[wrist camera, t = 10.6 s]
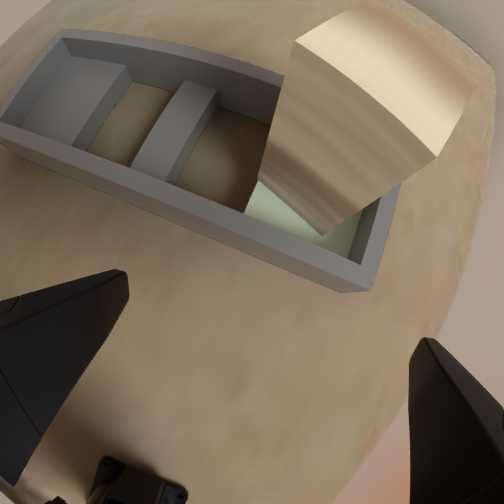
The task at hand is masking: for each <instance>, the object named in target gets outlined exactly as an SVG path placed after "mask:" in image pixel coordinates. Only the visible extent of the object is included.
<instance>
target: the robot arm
mask: <svg viewBox="0 0 504 504" xmlns="http://www.w3.org/2000/svg"><path fill="white" fill-rule="evenodd" d="M128 300H129V286H128V276H127V273H126V272H124V271H121V270H117V269H112V270H109V271H105V272H101V273H98V274H94V275H91V276H87V277H83V278H80V279H76V280H73V281H69V282H66V283H62V284H58V285H55V286H51V287H48V288H44V289H41V290H37V291H34V292H30V293H27V294H24V295H21V296H16V297H13V298H10V299H6V300H2V301H0V476H2V477H3V478H4V479H5V480H6V481H7V482H8V483H10V484H11V485H12V486H14V485H15V484H16V482H17V481H18V479H19V477H20V475H21V473H22V472H23V470H24V468H25V466H26V464H27V463H28V461H29V459H30V457H31V456H32V454H33V452H34V450H35V449H36V447H37V445H38V444H39V442H40V440H41V439H42V436H43V435H44V433H45V432H46V430H47V428H48V427H49V425H50V424H51V422H52V420H53V419H54V417H55V415H56V414H57V412H58V411H59V409H60V408H61V406H62V404H63V403H64V401H65V400H66V398H67V397H68V395H69V394H70V392H71V390H72V389H73V387H74V386H75V384H76V383H77V381H78V380H79V378H80V377H81V375H82V374H83V372H84V371H85V369H86V368H87V366H88V365H89V363H90V362H91V361H92V359H93V358H94V356H95V355H96V353H97V352H98V350H99V349H100V348H101V346H102V345H103V343H104V342H105V340H106V339H107V337H108V336H109V334H110V332H111V330H112V329H113V327H114V325H115V323H116V321H117V320H118V318H119V316H120V314H121V313H122V311H123V309H124V307H125V306H126V304H127V302H128ZM408 412H409V430H410V504H504V410H503V407H502V406H501V405H500V404H499V403H498V402H497V400H495V398H493V396H492V395H491V394H490V393H489V392H488V391H487V390H486V389H485V388H484V387H483V386H482V385H481V384H480V383H479V382H478V381H477V380H476V379H475V378H474V377H473V376H472V375H471V374H470V373H469V372H468V371H467V370H466V369H465V368H464V367H463V366H462V365H461V364H460V363H459V362H458V361H457V360H456V359H455V358H454V357H453V356H452V355H451V354H450V353H449V352H448V351H447V350H446V349H445V348H444V347H443V346H442V345H441V344H440V343H439V342H438V341H437V340H435V339H433V338H426V337H424V338H422V339H421V340H420V341H419V343H418V345H417V347H416V349H415V351H414V353H413V354H412V356H411V359H410V362H409V398H408ZM105 461H107V462H108V463H109V464H107V463H106V462H105ZM179 493H180V494H183V496H181V495H179ZM187 499H188V491H187V490H185V489H183V488H180V487H178V486H175V485H172V484H170V483H167V482H164V481H162V480H160V479H158V478H156V477H153V476H151V475H148V474H146V473H144V472H141V471H139V470H137V469H135V468H133V467H130V466H127V465H125V464H123V463H121V462H119V461H117V460H115V459H113V458H111V457H109V456H103V457H102V458H101V460H100V462H99V465H98V469H97V472H96V476H95V479H94V483H93V487H92V490H91V494H90V498H89V500H88V501H87V503H86V504H185V503H186V501H187ZM65 502H66V501H65V500H63V499H62V498H60V497H59V496H57V497H56V498H55V499H53V500H52V501H50V500H49V501H48V502H46V503H45V504H67V503H65Z"/></svg>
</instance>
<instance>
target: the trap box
mask: <svg viewBox="0 0 504 504" xmlns="http://www.w3.org/2000/svg"><path fill="white" fill-rule="evenodd" d="M284 77H285V76H283V75H281V74H278V73H275V72H272V71H270V70H267V69H264V68H261V67H258V66H255V65H252V64H249V63H246V62H243V61H240V60H236V59H233V58H230V57H226V56H223V55H219V54H216V53H212V52H208V51H205V50H201V49H197V48H193V47H188V46H184V45H180V44H175V43H170V42H166V41H161V40H155V39H150V38H144V37H138V36H132V35H125V34H118V33H110V32H101V31H90V30H77V29H61V30H60V31H59V32H58V33H57V34H56V35H55V36H54V37H53V39H52V40H51V41H50V42H49V43H48V44H47V45H46V46H45V48H44V49H43V50H42V51H41V52H40V54H39V55H38V56H37V57H36V58H35V60H34V61H33V62H32V63H31V65H30V66H29V67H28V68H27V70H26V71H25V72H24V74H23V75H22V76H21V78H20V79H19V80H18V82H17V83H16V84H15V86H14V87H13V89H12V90H11V91H10V93H9V94H8V96H7V97H6V99H5V100H4V102H3V103H2V105H1V106H0V143H1V144H2V145H4V146H5V147H6V148H7V149H9V150H10V151H11V152H13V153H14V154H15V155H17V156H20V157H22V158H24V159H27V160H29V161H31V162H34V163H36V164H38V165H41V166H43V167H45V168H48V169H50V170H52V171H55V172H57V173H59V174H61V175H64V176H66V177H68V178H71V179H73V180H75V181H78V182H80V183H82V184H85V185H87V186H89V187H92V188H94V189H96V190H99V191H101V192H103V193H106V194H108V195H110V196H113V197H115V198H117V199H120V200H122V201H124V202H127V203H129V204H131V205H134V206H136V207H138V208H141V209H143V210H145V211H148V212H150V213H153V214H155V215H157V216H160V217H162V218H164V219H167V220H169V221H171V222H174V223H176V224H178V225H181V226H183V227H185V228H188V229H190V230H192V231H195V232H197V233H199V234H202V235H204V236H207V237H209V238H211V239H214V240H216V241H218V242H221V243H223V244H225V245H228V246H230V247H232V248H235V249H237V250H240V251H242V252H244V253H247V254H249V255H251V256H254V257H256V258H258V259H261V260H263V261H266V262H268V263H270V264H273V265H275V266H277V267H280V268H282V269H284V270H287V271H289V272H292V273H294V274H296V275H299V276H301V277H303V278H306V279H308V280H311V281H313V282H315V283H318V284H320V285H322V286H325V287H327V288H330V289H332V290H334V291H337V292H339V293H348V292H361V291H371V289H372V286H373V283H374V280H375V276H376V273H377V270H378V267H379V264H380V261H381V257H382V254H383V251H384V247H385V244H386V240H387V237H388V233H389V229H390V226H391V222H392V218H393V214H394V210H395V207H396V202H397V198H398V194H399V190H400V186H401V183H400V184H398V185H397V186H395V187H394V188H392V189H391V190H389V191H388V192H387V193H385V194H384V195H382V196H381V197H379V198H378V199H376V200H375V201H373V202H372V203H370V204H369V205H368V206H366V207H365V208H363V209H362V210H360V211H359V212H357V213H356V214H354V215H353V216H351V217H350V218H348V219H347V220H345V221H344V222H342V223H341V224H339V225H338V226H336V227H335V228H333V229H332V230H330V231H329V232H327V233H326V234H324V235H323V236H321V235H320V234H319V233H318V232H317V231H316V230H314V229H313V228H312V227H311V226H310V225H309V224H308V223H307V222H306V221H304V220H303V219H302V218H301V217H300V216H299V215H298V214H297V213H296V212H294V211H293V210H292V209H291V208H290V207H289V206H288V205H286V204H285V203H284V202H283V201H282V200H281V199H280V198H278V197H277V196H276V195H275V194H274V193H273V192H272V191H270V190H269V189H268V188H267V187H266V186H265V185H263V184H262V183H261V182H260V181H259V180H258V182H257V184H256V186H255V189H254V191H253V193H252V195H251V198H250V200H249V202H248V204H247V207H246V209H245V211H244V213H240V212H238V211H236V210H233V209H231V208H228V207H226V206H224V205H221V204H219V203H216V202H214V201H211V200H209V199H207V198H204V197H202V196H199V195H197V194H194V193H192V192H189V191H187V190H184V189H182V188H179V187H177V186H174V184H175V182H176V180H177V178H178V176H179V174H180V172H181V170H182V168H183V167H184V165H185V163H186V161H187V159H188V157H189V155H190V153H191V152H192V150H193V148H194V146H195V144H196V143H197V141H198V139H199V137H200V135H201V134H202V132H203V130H204V128H205V127H206V125H207V123H208V121H209V120H210V118H211V116H212V115H213V113H214V111H215V110H216V108H217V106H219V107H222V108H225V109H228V110H231V111H234V112H237V113H239V114H242V115H245V116H247V117H250V118H253V119H255V120H258V121H261V122H263V123H266V124H268V125H271V124H272V121H273V117H274V113H275V110H276V106H277V102H278V99H279V95H280V91H281V88H282V84H283V81H284ZM132 81H134V82H138V83H142V84H146V85H150V86H154V87H157V88H161V89H165V90H168V91H172V92H175V94H174V96H173V97H172V99H171V100H170V102H169V103H168V105H167V106H166V108H165V109H164V111H163V112H162V114H161V115H160V117H159V119H158V120H157V122H156V123H155V125H154V127H153V128H152V130H151V131H150V133H149V135H148V136H147V138H146V140H145V141H144V143H143V145H142V147H141V148H140V150H139V152H138V154H137V155H136V157H135V159H134V161H133V162H132V164H131V166H130V168H128V167H126V166H123V165H120V164H118V163H115V162H112V161H110V160H107V159H105V158H102V157H99V156H96V155H94V154H91V153H88V152H86V151H87V149H88V147H89V145H90V144H91V142H92V140H93V139H94V137H95V135H96V134H97V132H98V131H99V129H100V127H101V126H102V124H103V123H104V121H105V120H106V118H107V117H108V115H109V114H110V112H111V111H112V109H113V108H114V106H115V105H116V103H117V102H118V100H119V99H120V97H121V96H122V95H123V93H124V92H125V90H126V89H127V88H128V86H129V85H130V84H131V82H132Z"/></svg>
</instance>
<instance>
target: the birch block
mask: <svg viewBox="0 0 504 504" xmlns="http://www.w3.org/2000/svg"><path fill="white" fill-rule="evenodd" d="M476 85H477V82H476V81H475V80H474V79H473V78H472V77H471V76H470V75H469V74H468V73H467V72H466V71H465V70H464V69H463V68H462V67H461V66H460V65H459V64H458V63H457V62H456V61H455V60H454V59H453V58H452V57H451V56H450V55H448V54H447V53H446V52H445V51H444V50H443V49H442V48H440V47H439V46H438V45H437V44H436V43H435V42H433V41H432V40H431V39H430V38H429V37H427V36H426V35H425V34H424V33H422V32H421V31H420V30H419V29H417V28H416V27H415V26H413V25H412V24H411V23H409V22H408V21H407V20H405V19H404V18H403V17H401V16H400V15H398V14H397V13H396V12H394V11H393V10H391V9H390V8H388V7H387V6H385V5H384V4H382V3H381V2H379V1H378V0H366V1H364V2H362V3H360V4H358V5H356V6H354V7H352V8H350V9H348V10H346V11H344V12H343V13H341V14H339V15H337V16H335V17H334V18H332V19H330V20H328V21H326V22H325V23H323V24H321V25H320V26H318V27H316V28H314V29H313V30H311V31H309V32H308V33H306V34H305V35H303V36H301V37H300V38H298V39H297V40H295V41H294V45H293V48H292V52H291V55H290V59H289V63H288V66H287V70H286V73H285V77H284V81H283V84H282V88H281V91H280V95H279V99H278V102H277V106H276V110H275V113H274V117H273V121H272V124H271V128H270V132H269V135H268V139H267V143H266V146H265V150H264V154H263V158H262V161H261V165H260V169H259V173H258V176H257V179H258V180H259V181H260V182H261V183H262V184H263V185H265V186H266V187H267V188H268V189H269V190H270V191H272V192H273V193H274V194H275V195H276V196H277V197H278V198H280V199H281V200H282V201H283V202H284V203H285V204H286V205H288V206H289V207H290V208H291V209H292V210H293V211H294V212H296V213H297V214H298V215H299V216H300V217H301V218H302V219H303V220H304V221H306V222H307V223H308V224H309V225H310V226H311V227H312V228H313V229H314V230H316V231H317V232H318V233H319V234H320V235H321V236H323V235H324V234H326V233H327V232H329V231H330V230H332V229H333V228H335V227H336V226H338V225H339V224H341V223H342V222H344V221H345V220H347V219H348V218H350V217H351V216H353V215H354V214H356V213H357V212H359V211H360V210H362V209H363V208H365V207H366V206H368V205H369V204H370V203H372V202H373V201H375V200H376V199H378V198H379V197H381V196H382V195H384V194H385V193H387V192H388V191H389V190H391V189H392V188H394V187H395V186H397V185H398V184H400V183H401V182H402V181H404V180H405V179H407V178H408V177H410V176H411V175H413V174H414V173H415V172H417V171H418V170H420V169H421V168H423V167H424V166H425V165H427V164H428V163H430V162H431V161H432V160H434V159H435V158H437V156H438V155H439V153H440V151H441V150H442V148H443V146H444V145H445V143H446V141H447V139H448V138H449V136H450V134H451V132H452V131H453V129H454V127H455V125H456V123H457V121H458V120H459V118H460V116H461V114H462V112H463V110H464V108H465V107H466V105H467V103H468V101H469V99H470V97H471V95H472V93H473V91H474V89H475V87H476Z"/></svg>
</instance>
